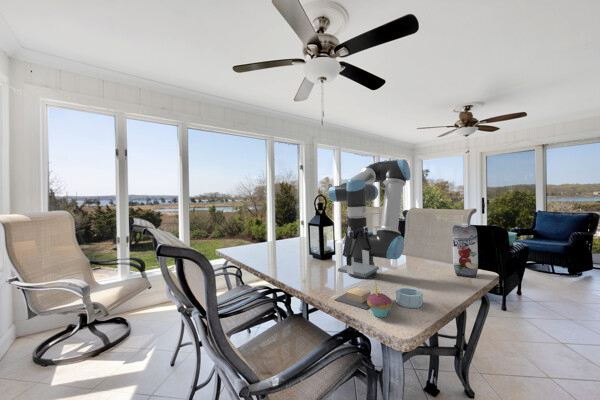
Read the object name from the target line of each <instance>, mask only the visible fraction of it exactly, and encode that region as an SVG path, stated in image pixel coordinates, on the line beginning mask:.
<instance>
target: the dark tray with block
mask: <svg viewBox="0 0 600 400" xmlns="http://www.w3.org/2000/svg"><path fill="white" fill-rule="evenodd" d="M369 295H371V290H367V289H363V288H359V287H353V288H351V289H349V290H348V291H346V292H345V293H343V294H342V295H340V296H338V297H336V298H335V299H334V301H336V302H339V303H342V304H346V305H349V306H353V307H354V308H355V307H356V308H358V309H362V310H364V311H366V310H368V309H371V307H370V306H369V305H368V304H367V298H368V297H369Z"/></svg>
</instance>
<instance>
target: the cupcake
mask: <svg viewBox="0 0 600 400" xmlns="http://www.w3.org/2000/svg"><path fill="white" fill-rule="evenodd" d="M374 290H375V293H372V294H371V293H370V294H371V295H369V297H368V298H367V304H368V305H369V306H370V310H371V312H372V315H373V316H374V317H375V318H376V317H377V318H385V317H387V316H388V313H389V310H390V309H391V308H393V307H392V306H393V302H392V301H393V300H392V299H391V298H390V296H388V295H386V294H384V293H382V292H381V293H380V292H378V285H377V283H376V282H374Z"/></svg>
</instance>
